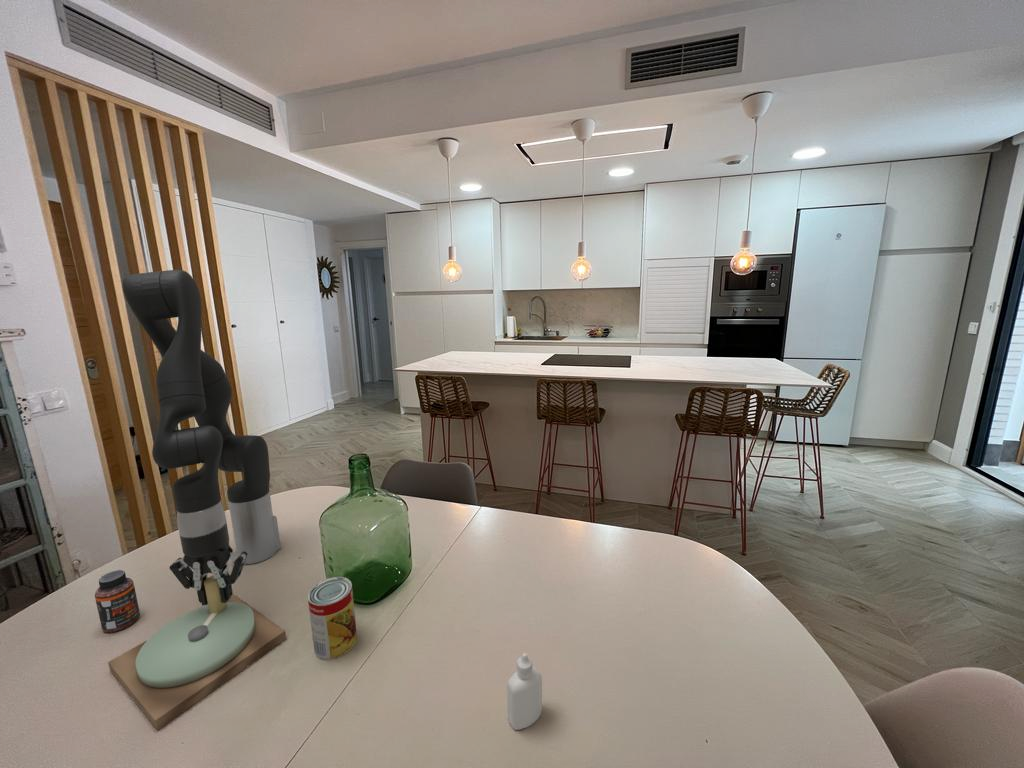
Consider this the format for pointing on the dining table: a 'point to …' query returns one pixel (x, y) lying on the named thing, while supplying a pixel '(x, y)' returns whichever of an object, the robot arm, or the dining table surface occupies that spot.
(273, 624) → the base board
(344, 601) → the canned food
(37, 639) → the dining table surface
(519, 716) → the eye dropper bottle
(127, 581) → the supplement bottle
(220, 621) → the dial
